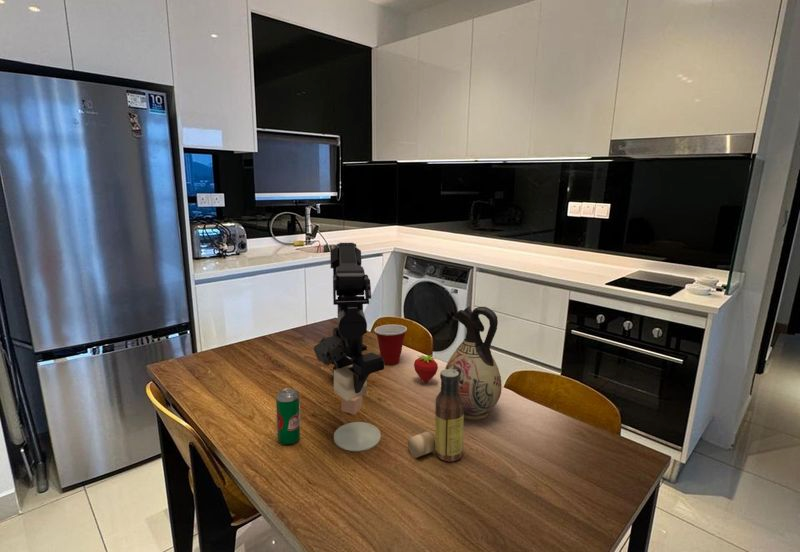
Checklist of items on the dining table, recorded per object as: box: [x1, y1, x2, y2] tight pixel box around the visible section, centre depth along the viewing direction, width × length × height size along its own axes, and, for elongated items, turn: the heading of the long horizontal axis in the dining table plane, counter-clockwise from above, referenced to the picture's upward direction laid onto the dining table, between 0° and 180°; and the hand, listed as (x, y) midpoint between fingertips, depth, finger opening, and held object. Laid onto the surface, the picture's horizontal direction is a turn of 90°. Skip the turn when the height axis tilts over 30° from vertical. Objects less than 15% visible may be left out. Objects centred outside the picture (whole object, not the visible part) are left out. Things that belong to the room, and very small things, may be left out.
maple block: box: [333, 365, 368, 401], centre depth 99 cm, size 6×6×6 cm
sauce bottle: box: [434, 368, 465, 463], centre depth 93 cm, size 6×6×20 cm
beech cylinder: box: [407, 431, 436, 459], centre depth 95 cm, size 4×4×4 cm
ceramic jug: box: [444, 306, 503, 420], centre depth 110 cm, size 17×15×30 cm
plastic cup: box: [374, 323, 408, 366], centre depth 141 cm, size 11×11×12 cm
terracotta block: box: [340, 395, 363, 416], centre depth 113 cm, size 4×4×4 cm
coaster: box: [333, 421, 381, 452], centre depth 101 cm, size 11×11×1 cm
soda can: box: [275, 387, 301, 446], centre depth 98 cm, size 5×5×12 cm
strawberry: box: [413, 354, 439, 384], centre depth 128 cm, size 6×8×10 cm
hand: (350, 387), depth 100 cm, fingers closed on maple block, 5 cm apart
